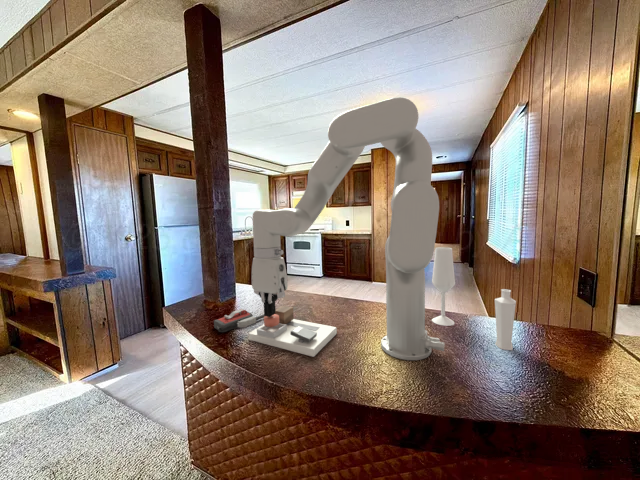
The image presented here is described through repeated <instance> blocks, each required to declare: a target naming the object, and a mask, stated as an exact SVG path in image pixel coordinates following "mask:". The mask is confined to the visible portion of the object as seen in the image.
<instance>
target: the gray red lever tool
mask: <svg viewBox="0 0 640 480" xmlns="http://www.w3.org/2000/svg"><path fill="white" fill-rule="evenodd" d="M264 317H265V316H264V314H261V315H259V316H254V314H253V312H249V311H247V310H246V309H244V308H240V309H237V310H235V311H234V310H233V311H231V313H230V314H229V315H227V314H225V315H224V316H223V317H220V318H218V319H214V320H213V327H214V329H216V330H217V332H218V333H226V332H229V331H231V330H234V329H236V328H247V327H249V326H251V325H255V324H256V323H257V321H259V320H260V319H264Z"/></svg>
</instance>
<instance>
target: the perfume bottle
mask: <svg viewBox="0 0 640 480" xmlns="http://www.w3.org/2000/svg"><path fill="white" fill-rule="evenodd" d="M500 291H501V294H500V295H501V297H496V298H494V309H495V310H494V313H495V328H496V341H495V343H494V344H495V346H496V347H498V349H500V350H505V351H513V348H514V347H513V346H514V345H513V343H512V340H513V330H514V321H515V313H516V303H517V300H515V299H514V298H512V297H511V292H512V290H511V289H506V288H502V289H500Z"/></svg>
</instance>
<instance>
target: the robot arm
mask: <svg viewBox="0 0 640 480" xmlns="http://www.w3.org/2000/svg"><path fill="white" fill-rule="evenodd" d="M418 122H419V112H418V108H417V106H416V104H415V103H414V101H412V100H410V98H409V99H408V98H406V97H391V98H387V99H385V100H384V99H383V100H380V101H377V102H374V103H369V104H366V105H363V106H360V107H356V108H352V109H350V110H347V111H344V112H341V113H340V114H338V115H337V116H335V117H334V118H333V119H332V121H331V122H330V123H329V127H328V130H327V138H328V142H327V144H326V146H325V147H324V148H323V149H322V151H321V152H320V154H319V156H318V157H317V158H316V160H315V161H314V162H313V164H312V165H311V167H310V168H309V170H308V174H307V183H306V188H305V191H304V192H303V195H302V197H301V198H300V199H299V201H298V202H297V204H296V205H295V207H293V208H288V207H287V208H281V209H276V210H275V209H257V210H254V211H253V213H252V234H253V256H254V257H253V258H252V264H251V287H252V289H253V293H254V294H256V295H258V296H259V298H260V300H261V302H262V303H263V315H264V316H267V317H270V316H272V315H274V314H275V311H276V309H277V308H276V302H277V300H278V299H282V298H285V297H286V293H285V291H287V290H288V275H287V269H286V268H287V267H286V263H285V259H284V257H282V255H284V253H285V252H284V250H283V249H282V248H281V246H282V245H281V236H283V237H294V236H298V235H301V234H304V233H306V232H307V231H308V230H310V228H311V227H312V225H313V224H314V223H315V221H316V220H317V218H319V216H320V214H321V213H322V212H323V210H324V209H325V207H326V206H327V204H328V202H329V200H330V199H331V198H332V195H333V194H334V192H335V190H336V189H337V187H338V186H339V184H340V183H341V182H342V181H343V179H344V178H345V176H346V175H347V174H348V172H349V171H350V170H351V168H352V167H353V165H354V164H355V163H356V162H357V160H358V159H359V157H360V156H361V155H362V153H363V152H364V150H365V147H367V146H371V145H376V144H379V143H380V144H381V145H382V147H384V148H385V149H387V151H390V152H391V153H392V155H393V156H394V159H395V168H394V169H395V170H394V181H393V182H394V183H393V190H392V196H391V200H390V209H391V218H390V228H389V235H388V237H387V239H386V241H385V245H384V246H385V247H384V255H385V284H386V288H385V292H386V293H385V295H386V297H385V298H386V301H385V302H386V304H385V305H386V309H385V310H386V335H385V336H383V337H382V338H381V340H380V345H381V349H382V351H384V353H386V354H387V355H389V356H391V357H393V358H396V359H400V360H404V361H420V360H421V361H422V360H425V359H426V358H428V357H429V356H431V355H432V349H434V350H436V351H441V352H445V342H442V341H440V338H438V337H431V336H430V335H428V330H427V329H426V274H425V272H426V271H425V269H426V268H427V267H428V265H429V264H430V263H431V262H432V259H433V257H434V253H435V246H436V245H435V244H436V238H437V232H438V231H437V230H438V222H439V215H440V214H439V213H440V199H439V195H438V193H437V190H436V189H435V187H433V186H432V185H431V182H432V171H433V151H432V148H431V145H430V143H429V141H428V139H427V138H426V136H425V135H424V134H423V133H422V132H421V131H419V129H418V128H417V126H418Z"/></svg>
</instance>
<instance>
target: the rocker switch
mask: <svg viewBox="0 0 640 480" xmlns="http://www.w3.org/2000/svg"><path fill="white" fill-rule="evenodd" d="M290 335H292V336H295V337H297V338H299V339H302V340H304V341H306V342H311V341H312V340H313V339H314V338H315V337H316V336H317V333H316V332H314V331H311V330H309V329H306V328H304V327H301V326H297V327H296V328H295V329H293V330H292V331H291V334H290Z"/></svg>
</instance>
